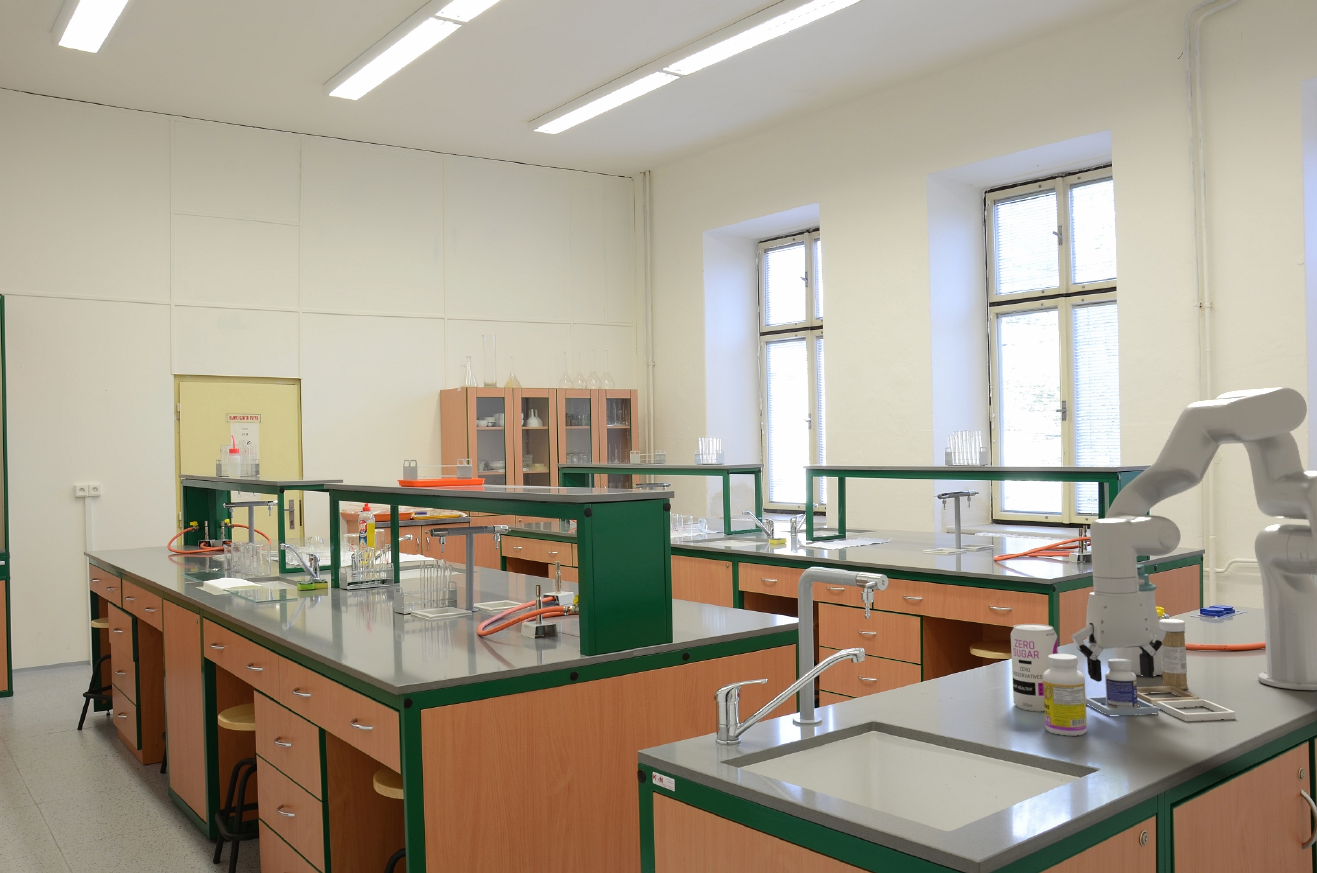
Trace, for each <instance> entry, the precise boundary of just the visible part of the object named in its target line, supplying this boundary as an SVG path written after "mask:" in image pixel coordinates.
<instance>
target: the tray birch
mask: <svg viewBox="0 0 1317 873" xmlns="http://www.w3.org/2000/svg"><path fill="white" fill-rule="evenodd" d="M1151 692H1171V693H1170V694H1172V693H1174V694H1176V695H1175V696H1177V695H1179V696H1181V697H1179V696H1178V697H1167V698H1166V697H1163V698H1161V697H1160V698H1158V697H1157V698H1152V697H1150V696H1148V695H1147V694H1141V693H1151ZM1174 694H1173V695H1174ZM1137 698H1139V699H1141V700H1143V701H1145V702H1147V703H1149V704H1152V705H1155V704H1156V702H1157V701H1179V700H1200V697H1199V696H1197V695H1194V694H1192V693H1189V692H1187V691H1185V690H1180V689H1177V688H1175V687H1172V686H1163V685H1161V686H1143V687H1137ZM1156 705H1157V704H1156Z"/></svg>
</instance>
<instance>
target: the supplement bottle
mask: <svg viewBox="0 0 1317 873" xmlns="http://www.w3.org/2000/svg"><path fill="white" fill-rule="evenodd" d="M1048 663H1049V665H1050V669H1048V670H1047V671H1045V672H1044V674H1043V688H1044V710H1045V712H1044V724H1045V725H1044V726H1045V729H1046V730H1047V732H1049V733H1051V734H1053V733H1054V735H1057V734H1060V735H1059V736H1063V735H1066V736H1065V737H1077V735H1079V736H1082V735H1085V734H1086V733H1087V731H1088V721H1087V720H1088V718H1087V705H1086V698H1087V697H1086V679H1085V675H1084V674H1083V672H1081V671H1080V670H1078V668H1077V666H1078V664H1079V660H1078V656H1077V655H1073V654H1069V653H1058V654H1051V655H1049V656H1048Z"/></svg>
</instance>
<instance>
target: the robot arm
mask: <svg viewBox="0 0 1317 873" xmlns="http://www.w3.org/2000/svg"><path fill="white" fill-rule="evenodd" d="M1307 411H1308V406H1307V402H1306V400H1305V398H1304V396H1303V395H1302V393H1300V391H1298V390H1295V389H1294V388H1290V387H1285V386H1281V387H1270V388H1269V387H1268V388H1259V389H1244V390H1235V391H1229V392H1226V393H1223V394H1220V395H1219V396H1217V397H1216V398H1214V399H1212V400H1203V401H1201V400H1200V401H1196V402H1192V403H1190V404H1189V405H1188V406H1186V407H1185V408H1184V409H1183V410H1182V412H1181V414H1180V416H1178V419H1177V420H1176V423H1175V425H1173V428H1172V429H1171V431H1170V435H1169V436H1168V439H1167V440H1166V442H1165V444H1164V445H1163V448H1162V449H1161V450H1160V453H1159V455H1158V457H1157V459H1156V460H1155V462H1154V463H1153V464H1152V465H1151V466H1149V467H1148V468H1145V470H1143V471H1142V472H1141V473H1139V474H1138V475H1137V476H1136V477H1135V478H1134V479H1131V481H1129V482H1128V483H1126V485H1125V486H1124V487H1123V488H1122V489H1121V490H1120V491H1119V493H1118V494H1117V495H1116V497H1115V498H1114V499H1113V501H1112V503H1111V505H1110V507H1109V509H1108V511H1107V512H1106V514H1105V516H1104V518H1098V519H1096V520H1093V521H1092V522H1091V524H1090V525H1089V526H1090V528H1089V533H1090V534H1089V535H1090V548H1091V551H1090V552H1091V566H1092V568H1091V569H1092V581H1093V582H1092V584H1093V592H1089V595H1088V599H1087V606H1086V620H1085V623H1086V624H1085V627H1083V628H1081V629H1079V630H1078V631H1077V632H1074V633H1073V634H1072V635H1071V640H1072V641H1073V644H1074V645H1075V646H1076V649H1077V650H1078V651H1079V652H1080V653H1081V654H1083V655H1084V657H1085V658H1086V661H1087V662H1086V663H1087V674H1088V676H1089V678H1090V679H1091V680H1093V681H1095V682H1097V683H1098V682H1101V681H1102V680H1103V679H1102V678H1103V677H1102V676H1103V675H1102V674H1103V673H1102V662H1101V660H1100V659H1099V656H1100V655H1101V654H1102V652H1103V651H1104V649H1105V650H1112V649H1113V650H1115V649H1116V648H1132V647H1138V648H1139V649H1140V650H1141V651H1142V653H1140V655H1139V658H1140V673H1141V675H1143V676H1142V677H1146V678H1148V679H1154V676H1153V672H1154V658H1153V656H1155V655H1156V652H1157V650H1158V649H1159V648H1160V647H1161V646H1162V641H1163V640H1164V637H1165V635H1166V631H1165V630H1163V629H1161V628H1158V627H1156V626H1154V625H1152V624H1150V623H1149V622H1148V615H1147V610H1146V606H1145V602H1144V598H1143V595H1142V593H1141V592H1139V591H1138V590H1139V586H1140V585H1144V584H1145V581H1144V578H1139V576H1138V575H1137V564H1138V562H1137V559H1138V558H1137V557H1138V556H1149V557H1161V556H1166V555H1169V554H1171V553H1172V552H1173V551H1175V550H1176V549H1177V548H1178V546H1179V544H1180V542H1181V531H1180V529H1179V527H1178V526H1177V524H1176V523H1175V522H1174V521H1173V520H1171V519H1170V518H1167V517H1165V516H1161V515H1154V514H1153V515H1151V514H1147V513H1148V512H1149V511H1150V510H1151V509H1152V508H1153V507H1154V506H1156V505H1158V504H1159V503H1161V502H1162V501H1165V500H1166V499H1169V498H1171V497H1174V496H1176V495H1179V494H1182V493H1184V492H1187V491H1188V490H1190V489H1192V488H1195V487H1196V486H1198V485H1200V483H1201V482H1202V481H1203V478H1204V477H1205V475H1206V472H1207V470H1208V469H1209V467H1210V465H1211V463H1212V461H1213V460H1214V457H1215V456H1216V453H1217V452H1218V450H1219V448H1220V446H1221V445H1227V444H1228V445H1230V444H1232V445H1234V444H1242V446H1244V448H1245V449H1246V452H1247V455H1248V459H1249V463H1250V471H1251V476H1252V483H1253V489H1254V495H1255V500H1256V505H1257V508H1258V509H1259V511H1260V512H1261V513H1262V514H1263V515H1265V516H1267V517H1270V518H1276V519H1287V520H1288V519H1289V520H1304V521H1305V520H1307V521H1308V522H1309V525H1307V524H1292V523H1276V524H1272V525H1268V526H1266V527H1264V528H1263V529H1261V530H1260V531H1259V532H1258V533H1257V535H1256V538H1255V540H1254V553H1255V554H1254V555H1255V558H1256V561H1257V564H1258V568H1259V573H1260V577H1261V585H1262V597H1263V599H1262V601H1263V602H1262V603H1263V616H1264V619H1263V621H1264V638H1265V639H1264V642H1265V658H1266V659H1265V660H1266V671H1262V672H1260V673H1259V674H1257V676H1258V678H1257V679H1258V681H1259V682H1260V683H1262V684H1265V685H1268V686H1271V687H1276V688H1282V689H1288V690H1297V691H1317V585H1316V583H1315V581H1314V579H1313V578H1312V576H1313V575H1314V576H1317V470H1305V469H1304V468H1303V464H1302V461H1301V455H1300V451H1299V447H1298V444H1297V442H1296V439H1295V438H1294V436H1293V434H1292V433H1291V432H1292V431H1294V430H1296V429H1298V428H1299V427H1300V426H1301V425H1302V423H1304V421H1305V419H1306V416H1307V413H1308V412H1307ZM1311 575H1312V576H1311ZM1150 632H1153V633H1154V638H1153V639H1152V640H1151V641H1150ZM1084 639H1086V642H1087V643H1088V644H1089V645H1088V646H1087V645H1086V644H1085V641H1084ZM1149 641H1150V643H1149Z"/></svg>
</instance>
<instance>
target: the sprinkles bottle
mask: <svg viewBox="0 0 1317 873" xmlns="http://www.w3.org/2000/svg"><path fill="white" fill-rule="evenodd" d="M1159 620H1160V621H1159V628H1161V629H1163V630H1165V631H1166V635H1165V637H1164V640H1163V641H1162V646H1161V662H1162V674H1163V675H1162V685H1161V686H1172V687H1175V688H1177V689H1180V690H1182V691H1185V690H1187V689H1188V688H1189V686H1188V685H1189V684H1188V678H1187V673H1188V670H1187V669H1188V668H1187V667H1188V665H1187V648H1186V647H1187V646H1186V638H1185V633H1186V623H1185V621H1184V620H1182V619H1176V618H1163V619H1159ZM1184 689H1185V690H1184Z"/></svg>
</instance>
